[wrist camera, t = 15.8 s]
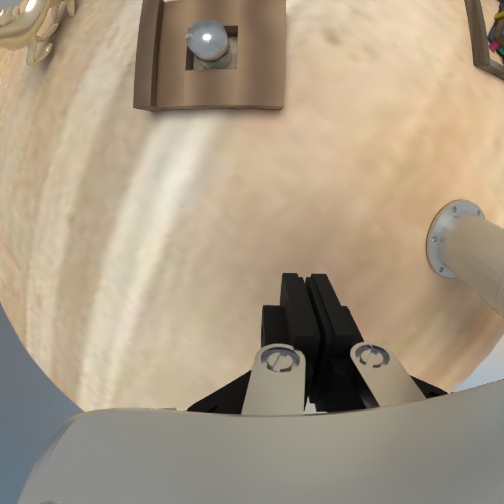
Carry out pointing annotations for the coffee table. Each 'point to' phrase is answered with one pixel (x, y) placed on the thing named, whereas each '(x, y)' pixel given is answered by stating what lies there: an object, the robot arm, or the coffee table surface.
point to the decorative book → (498, 31)
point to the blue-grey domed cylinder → (209, 44)
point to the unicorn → (30, 27)
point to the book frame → (481, 39)
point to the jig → (210, 80)
